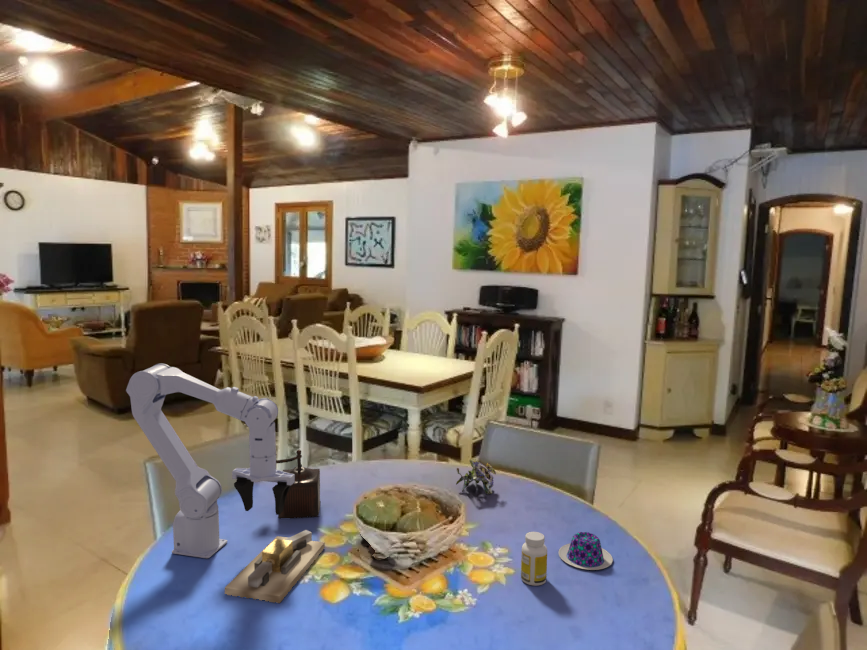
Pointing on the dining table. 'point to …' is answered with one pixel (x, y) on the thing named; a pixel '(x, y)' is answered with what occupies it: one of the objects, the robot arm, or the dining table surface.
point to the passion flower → (479, 476)
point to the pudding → (585, 552)
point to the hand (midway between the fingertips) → (264, 511)
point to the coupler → (278, 553)
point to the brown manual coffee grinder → (302, 491)
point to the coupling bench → (276, 585)
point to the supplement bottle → (534, 559)
